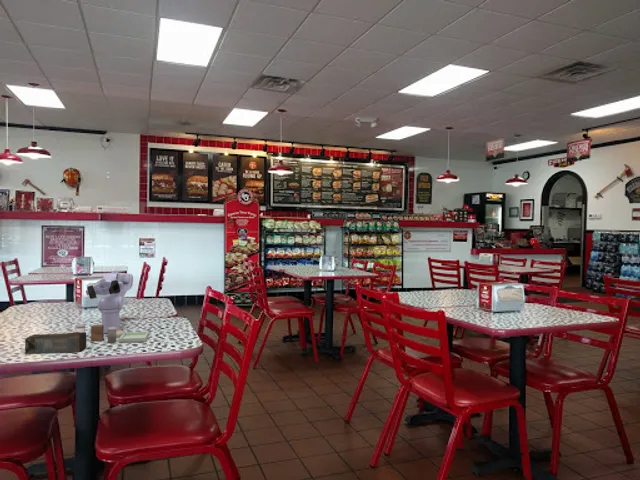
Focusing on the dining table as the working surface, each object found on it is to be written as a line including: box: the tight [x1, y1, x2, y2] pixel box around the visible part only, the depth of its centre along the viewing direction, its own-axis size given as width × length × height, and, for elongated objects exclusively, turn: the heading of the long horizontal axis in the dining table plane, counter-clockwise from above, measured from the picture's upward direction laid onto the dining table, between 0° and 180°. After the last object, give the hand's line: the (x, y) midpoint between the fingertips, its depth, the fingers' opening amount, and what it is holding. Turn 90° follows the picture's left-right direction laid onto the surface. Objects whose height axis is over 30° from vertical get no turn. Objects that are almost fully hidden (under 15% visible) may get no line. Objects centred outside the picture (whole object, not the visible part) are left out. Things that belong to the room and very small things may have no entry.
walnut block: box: [90, 324, 105, 343], centre depth 193 cm, size 4×4×6 cm
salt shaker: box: [75, 323, 86, 333], centre depth 194 cm, size 3×3×6 cm
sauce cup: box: [116, 329, 124, 339], centre depth 200 cm, size 4×4×3 cm
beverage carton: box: [24, 331, 87, 355], centre depth 175 cm, size 8×19×7 cm, turn 101°
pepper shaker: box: [107, 327, 117, 344], centre depth 189 cm, size 3×3×6 cm
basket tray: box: [118, 331, 150, 344], centre depth 195 cm, size 12×10×2 cm
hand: (100, 294), depth 190 cm, fingers open, 7 cm apart
